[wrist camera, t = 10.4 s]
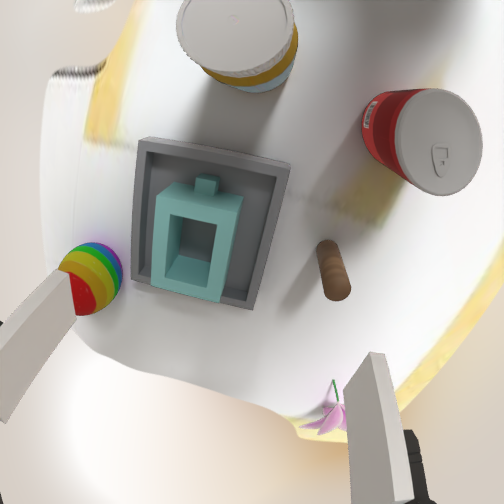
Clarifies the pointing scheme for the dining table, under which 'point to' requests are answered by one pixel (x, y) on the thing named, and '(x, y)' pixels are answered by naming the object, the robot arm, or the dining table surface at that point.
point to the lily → (330, 418)
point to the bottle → (240, 40)
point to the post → (332, 271)
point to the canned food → (425, 138)
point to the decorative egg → (92, 276)
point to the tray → (203, 233)
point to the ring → (169, 234)
